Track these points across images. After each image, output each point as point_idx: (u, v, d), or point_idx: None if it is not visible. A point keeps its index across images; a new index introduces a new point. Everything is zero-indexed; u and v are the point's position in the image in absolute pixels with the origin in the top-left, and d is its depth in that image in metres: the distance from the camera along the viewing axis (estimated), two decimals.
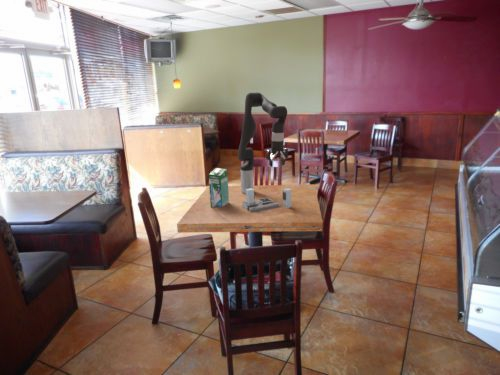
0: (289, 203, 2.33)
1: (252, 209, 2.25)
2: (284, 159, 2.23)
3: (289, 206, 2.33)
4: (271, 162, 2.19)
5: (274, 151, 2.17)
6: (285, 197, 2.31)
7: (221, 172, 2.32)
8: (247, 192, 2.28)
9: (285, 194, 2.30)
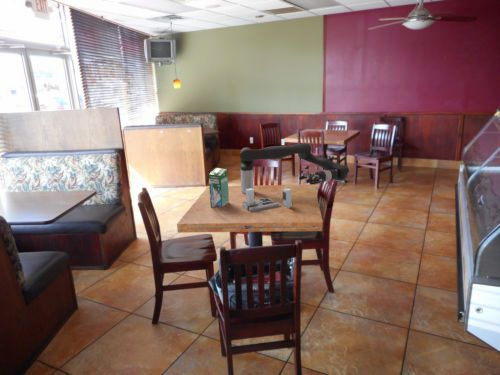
0: (289, 203, 2.33)
1: (252, 209, 2.25)
2: None
3: (289, 206, 2.33)
4: (310, 181, 2.33)
5: None
6: (285, 197, 2.31)
7: (221, 172, 2.32)
8: (247, 192, 2.28)
9: (285, 194, 2.30)
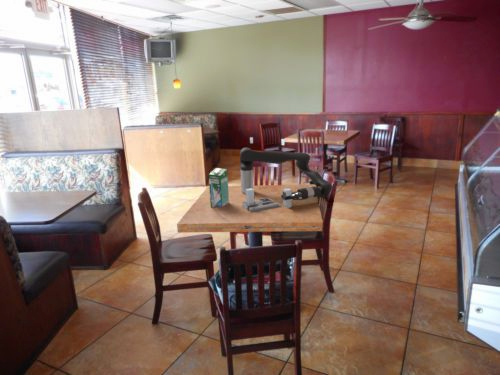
0: (289, 203, 2.33)
1: (252, 209, 2.25)
2: None
3: (289, 206, 2.33)
4: None
5: None
6: None
7: (221, 172, 2.32)
8: (247, 192, 2.28)
9: (285, 194, 2.30)
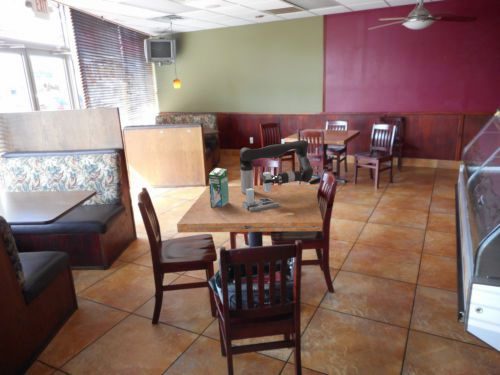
0: (269, 187, 2.31)
1: (252, 209, 2.25)
2: None
3: (269, 190, 2.32)
4: (269, 182, 2.30)
5: None
6: None
7: (221, 172, 2.32)
8: (247, 192, 2.28)
9: (265, 177, 2.29)
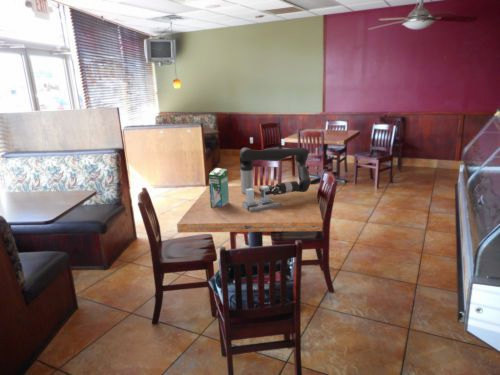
0: (267, 200, 2.34)
1: (252, 209, 2.25)
2: None
3: None
4: (269, 194, 2.31)
5: None
6: (263, 194, 2.32)
7: (221, 172, 2.32)
8: (247, 192, 2.28)
9: (263, 191, 2.32)
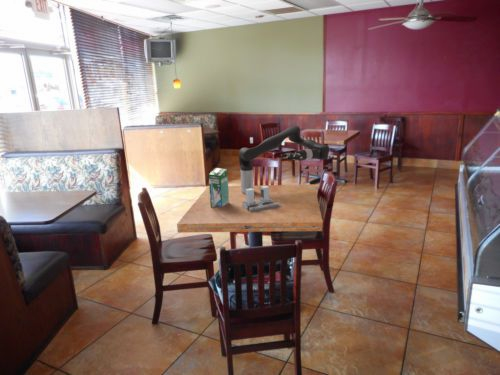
0: (267, 200, 2.34)
1: (252, 209, 2.25)
2: (285, 156, 2.47)
3: None
4: (291, 159, 2.39)
5: None
6: (263, 194, 2.32)
7: (221, 172, 2.32)
8: (247, 192, 2.28)
9: (263, 191, 2.32)
